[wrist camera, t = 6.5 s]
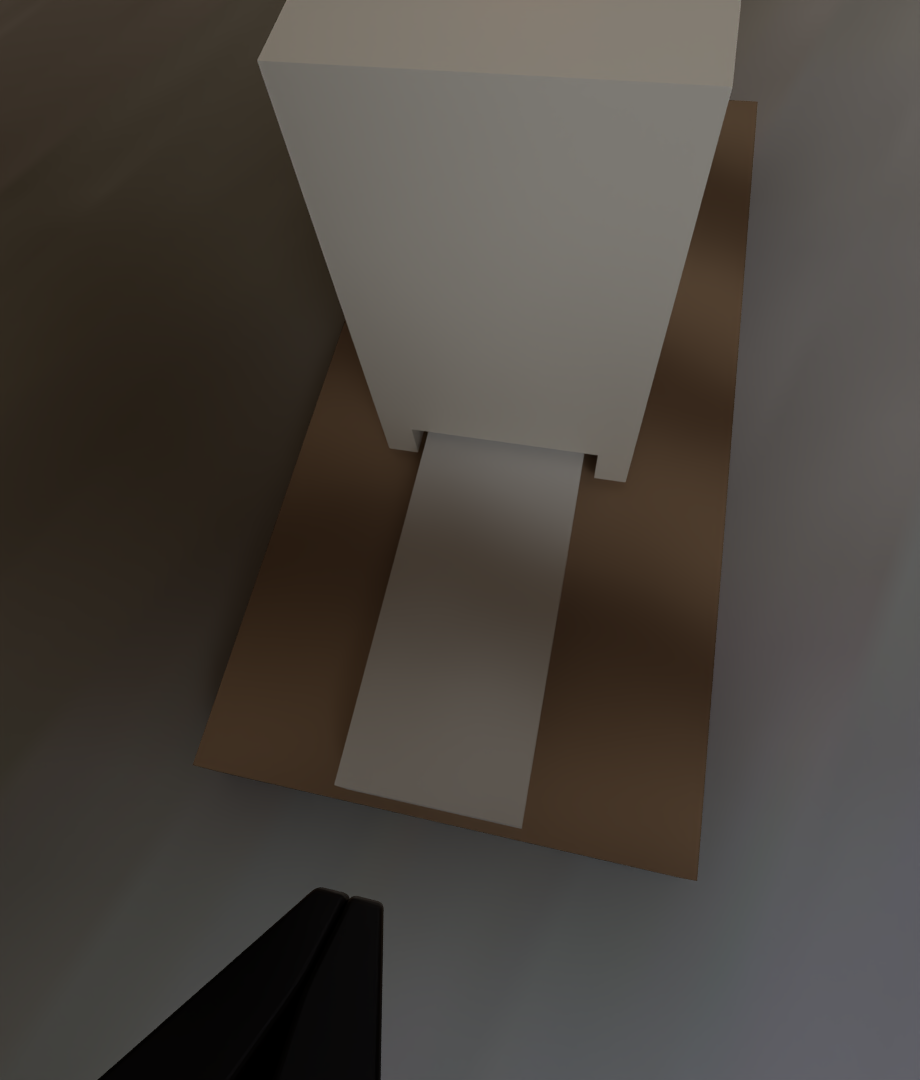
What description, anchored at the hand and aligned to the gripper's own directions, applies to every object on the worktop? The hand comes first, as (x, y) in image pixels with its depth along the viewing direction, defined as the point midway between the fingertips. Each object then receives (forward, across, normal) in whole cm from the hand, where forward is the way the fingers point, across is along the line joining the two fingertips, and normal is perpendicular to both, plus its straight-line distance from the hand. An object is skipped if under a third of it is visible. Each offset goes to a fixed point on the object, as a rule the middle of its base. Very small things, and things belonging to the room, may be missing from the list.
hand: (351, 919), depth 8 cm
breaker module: (+12, 0, -6) cm, 13 cm away
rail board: (+13, 0, -4) cm, 14 cm away
